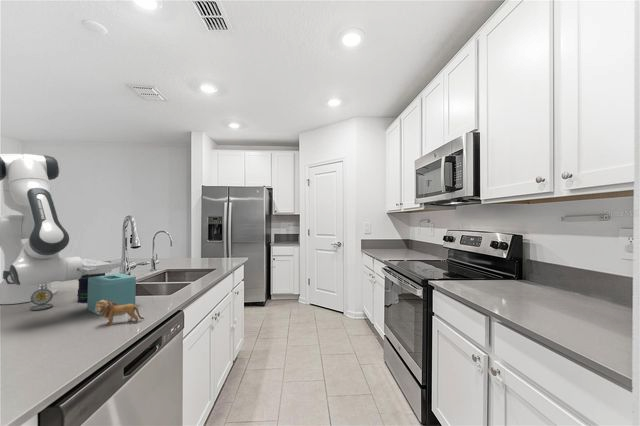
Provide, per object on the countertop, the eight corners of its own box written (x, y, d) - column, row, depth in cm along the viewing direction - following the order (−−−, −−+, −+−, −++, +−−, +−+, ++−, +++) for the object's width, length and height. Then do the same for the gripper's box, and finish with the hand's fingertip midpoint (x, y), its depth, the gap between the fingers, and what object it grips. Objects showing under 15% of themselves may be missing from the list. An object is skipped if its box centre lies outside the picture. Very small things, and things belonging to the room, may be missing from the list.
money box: (87, 309, 116) (88, 277, 117) (120, 302, 126) (120, 273, 127) (101, 315, 109) (102, 281, 109) (135, 307, 119) (135, 276, 119)
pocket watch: (38, 311, 113) (39, 286, 113) (22, 310, 115) (23, 285, 115) (60, 305, 121) (61, 282, 121) (45, 304, 123) (46, 281, 123)
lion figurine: (92, 329, 95) (93, 302, 95) (96, 324, 100) (97, 298, 100) (143, 322, 102) (144, 297, 102) (144, 317, 107) (145, 294, 107)
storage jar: (72, 301, 127) (72, 268, 127) (95, 296, 136) (96, 265, 136) (86, 304, 123) (87, 270, 124) (109, 298, 132) (110, 266, 133)
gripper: (83, 262, 102) (126, 258, 113) (64, 258, 113) (105, 254, 124) (83, 280, 101) (126, 274, 113) (63, 273, 113) (104, 268, 124)
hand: (115, 263), depth 119 cm, fingers open, 8 cm apart
